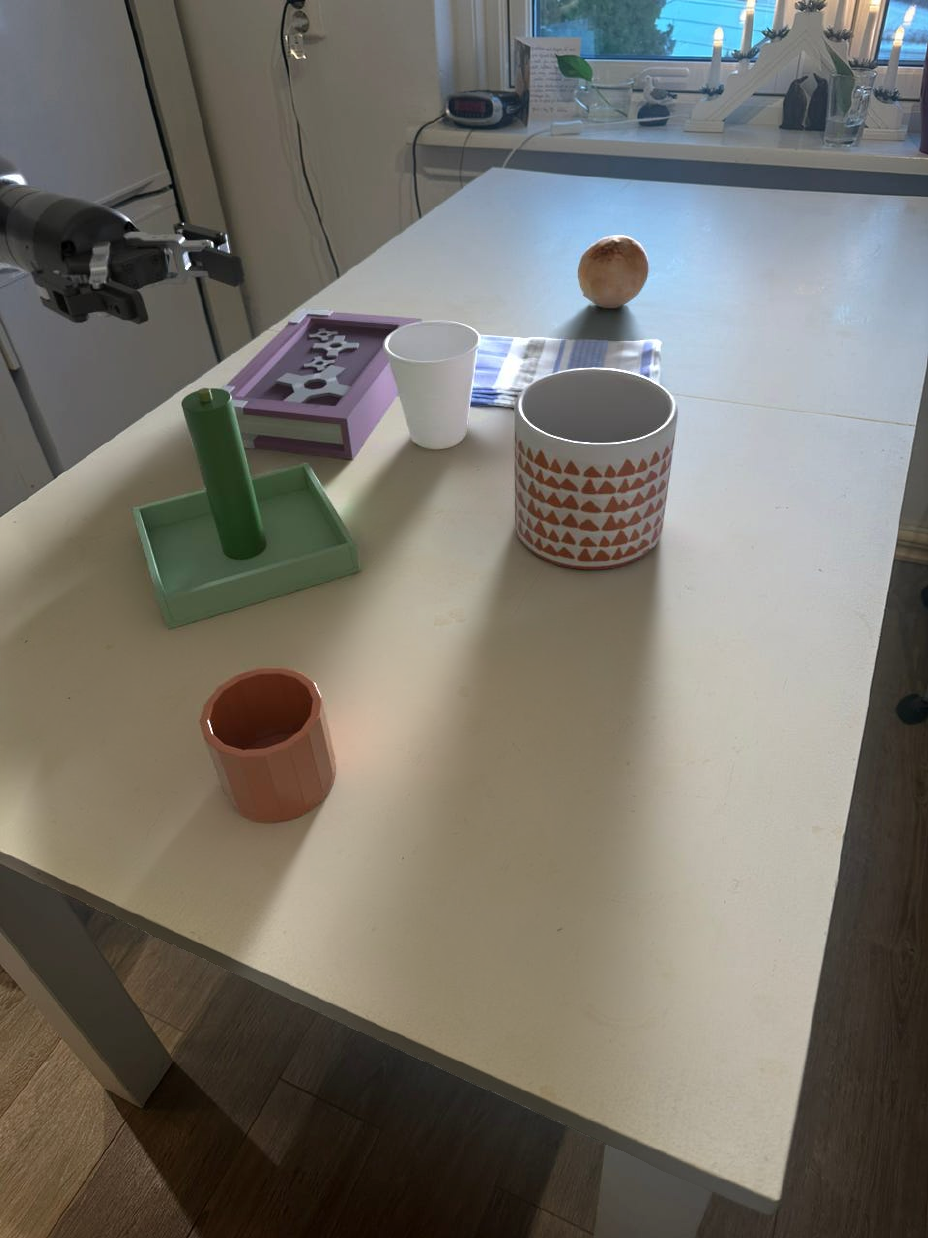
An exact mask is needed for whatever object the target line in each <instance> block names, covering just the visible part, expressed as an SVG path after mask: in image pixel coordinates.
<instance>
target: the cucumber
mask: <svg viewBox="0 0 928 1238" xmlns="http://www.w3.org/2000/svg"><path fill="white" fill-rule="evenodd" d="M180 403H181V404H180V405H181V409H182V413H183V415H184V419H185V422H186V426H187V431H188V433H189V436H190V441H191V444H192V447H193V450H194V451H193V452H194V454H195V457H196V461H197V465H198V468H199V471H200V475H201V479H202V482H203V485H204V489H206V493H207V496H208V500H209V503H210V507H211V510H212V514H213V517H214V521H215V524H216V528H217V531H218V535H219V538H220V542H221V545H222V549H223V552H224V554H225V555H226V556H227V557H228V558H230V559H234V560H246V559H250V558H253V557H256V556H258V555H259V554H261V553H262V552H263V551H264V550H265V548H266V544H267V543H266V538H265V534H264V530H263V526H262V522H261V518H260V514H259V509H258V505H257V501H256V497H255V493H254V489H253V485H252V480H251V477H252V476H251V473H250V469H249V464H248V461H247V456H246V452H245V448H244V447H243V443H242V439H241V435H240V431H239V427H238V423H237V418H236V414H235V410H234V406H233V402H232V398H231V394H230V393H229V392H228V391H226V390H223V389H220V388H219V387H218V388H217V387H216V388H215V387H212V388H211V387H210V388H209V387H202V388H199V389H198V390H196V391H193V392H190V393H189V394H187V395H186V396H184V397H183V399H182V400H181V402H180Z"/></svg>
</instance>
